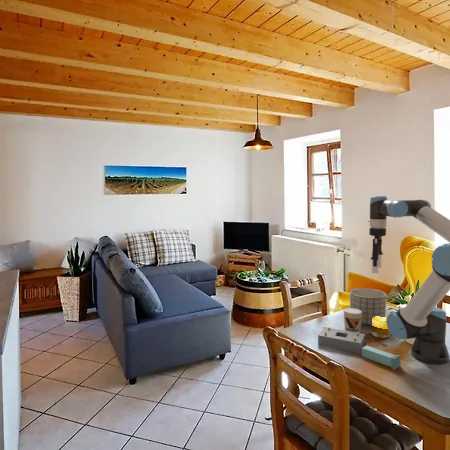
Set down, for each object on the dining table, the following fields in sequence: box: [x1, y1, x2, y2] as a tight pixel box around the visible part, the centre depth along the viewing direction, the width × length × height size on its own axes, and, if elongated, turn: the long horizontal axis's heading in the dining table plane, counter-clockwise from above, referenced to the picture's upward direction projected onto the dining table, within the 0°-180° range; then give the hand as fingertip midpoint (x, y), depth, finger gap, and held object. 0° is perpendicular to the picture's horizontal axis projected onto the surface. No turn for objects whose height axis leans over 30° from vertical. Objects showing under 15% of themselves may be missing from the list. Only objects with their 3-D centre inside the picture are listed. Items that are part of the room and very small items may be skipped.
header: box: [317, 326, 366, 355], centre depth 176 cm, size 20×12×6 cm, turn 60°
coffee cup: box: [343, 307, 362, 333], centre depth 190 cm, size 9×9×12 cm
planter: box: [349, 287, 387, 327], centre depth 202 cm, size 19×19×18 cm
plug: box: [361, 345, 401, 370], centre depth 158 cm, size 5×5×16 cm
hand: (376, 270), depth 176 cm, fingers open, 13 cm apart
